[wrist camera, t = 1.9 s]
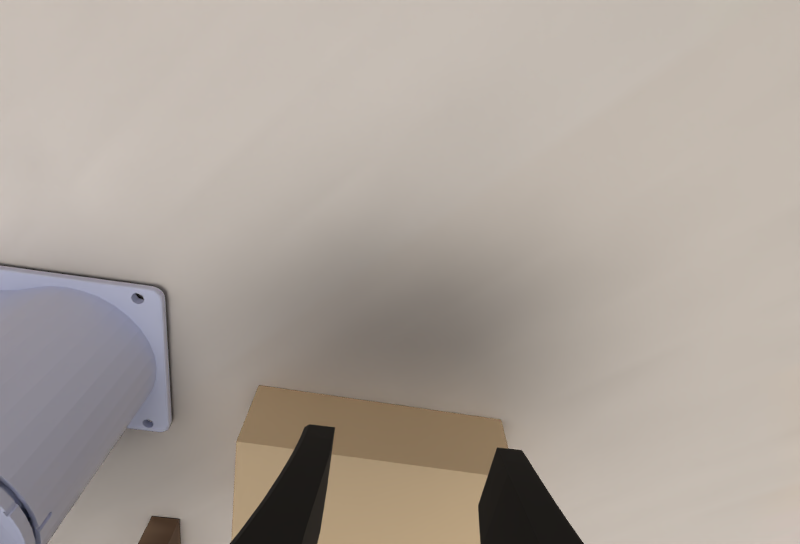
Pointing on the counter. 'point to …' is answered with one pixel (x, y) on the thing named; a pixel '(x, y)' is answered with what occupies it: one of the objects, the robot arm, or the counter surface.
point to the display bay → (161, 531)
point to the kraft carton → (373, 466)
